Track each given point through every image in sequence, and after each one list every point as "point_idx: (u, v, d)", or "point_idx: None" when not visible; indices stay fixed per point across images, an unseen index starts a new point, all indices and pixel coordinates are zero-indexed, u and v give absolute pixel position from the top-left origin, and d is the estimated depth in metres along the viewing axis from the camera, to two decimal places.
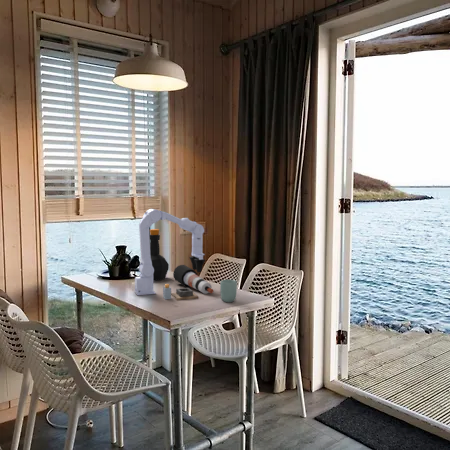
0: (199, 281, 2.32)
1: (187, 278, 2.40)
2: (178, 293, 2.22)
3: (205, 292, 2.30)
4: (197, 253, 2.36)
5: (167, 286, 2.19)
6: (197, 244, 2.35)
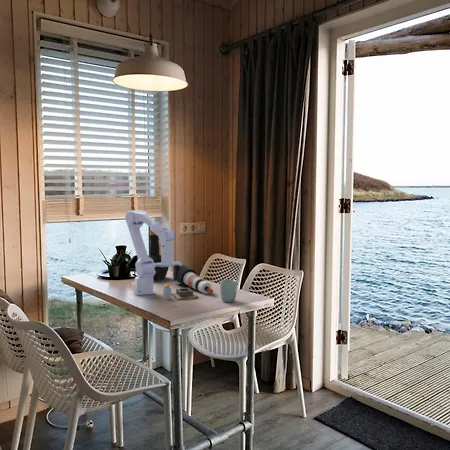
0: (199, 281, 2.32)
1: (187, 278, 2.40)
2: (178, 293, 2.22)
3: (205, 292, 2.30)
4: (161, 261, 2.18)
5: (167, 286, 2.19)
6: (162, 252, 2.16)
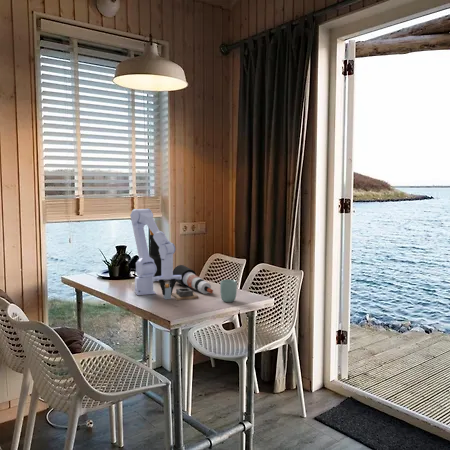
0: (198, 281, 2.32)
1: (186, 278, 2.40)
2: (178, 293, 2.22)
3: (204, 292, 2.30)
4: (161, 274, 2.19)
5: (167, 286, 2.19)
6: (162, 265, 2.17)
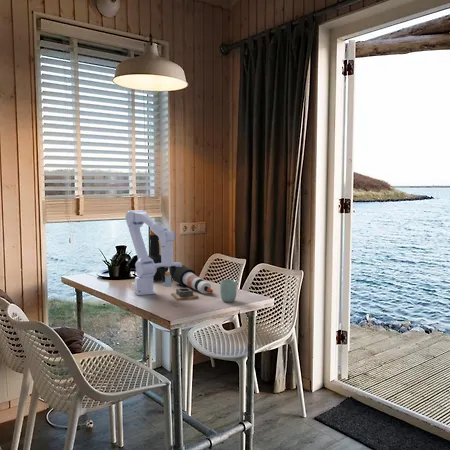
0: (198, 281, 2.32)
1: (186, 278, 2.40)
2: (178, 293, 2.22)
3: (204, 292, 2.30)
4: (161, 261, 2.18)
5: (167, 274, 2.18)
6: (162, 252, 2.17)
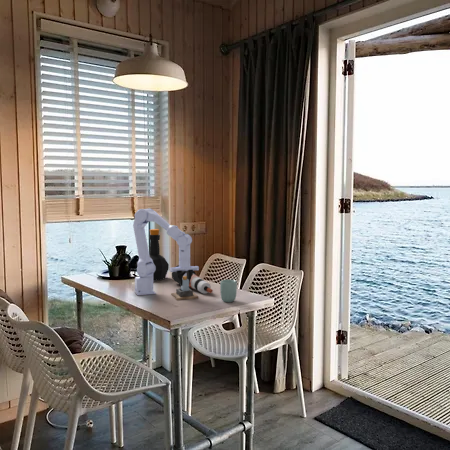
0: (198, 281, 2.32)
1: None
2: (178, 293, 2.22)
3: (204, 292, 2.30)
4: (179, 265, 2.22)
5: (185, 278, 2.21)
6: (181, 256, 2.19)
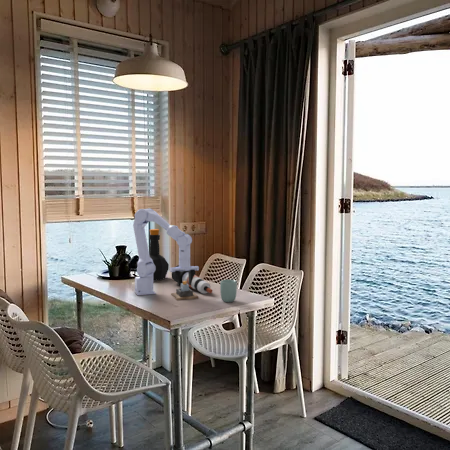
0: (198, 281, 2.32)
1: (186, 278, 2.40)
2: (178, 293, 2.22)
3: (204, 292, 2.30)
4: (179, 265, 2.22)
5: (185, 283, 2.22)
6: (181, 256, 2.19)
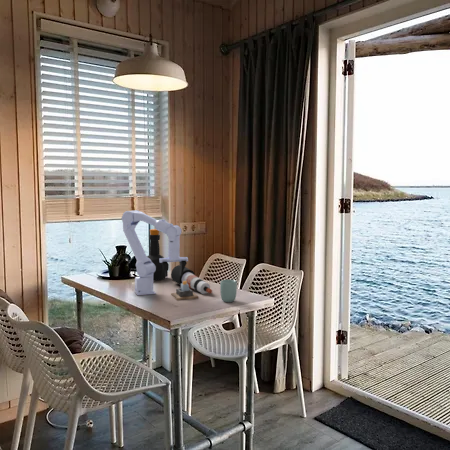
0: (198, 281, 2.32)
1: (185, 278, 2.40)
2: (178, 293, 2.22)
3: (204, 292, 2.30)
4: (168, 256, 2.23)
5: (185, 283, 2.22)
6: (170, 247, 2.20)
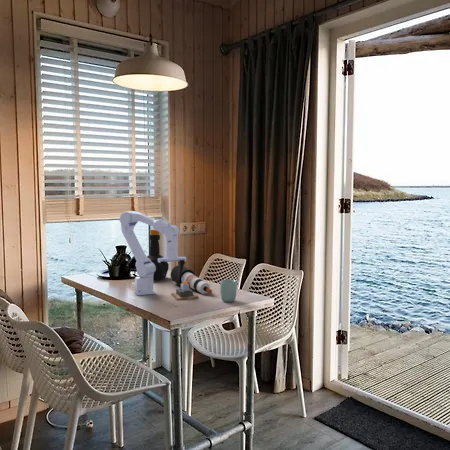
0: (197, 281, 2.32)
1: (185, 278, 2.40)
2: (178, 293, 2.22)
3: (203, 292, 2.30)
4: None
5: (185, 283, 2.22)
6: (168, 247, 2.21)
